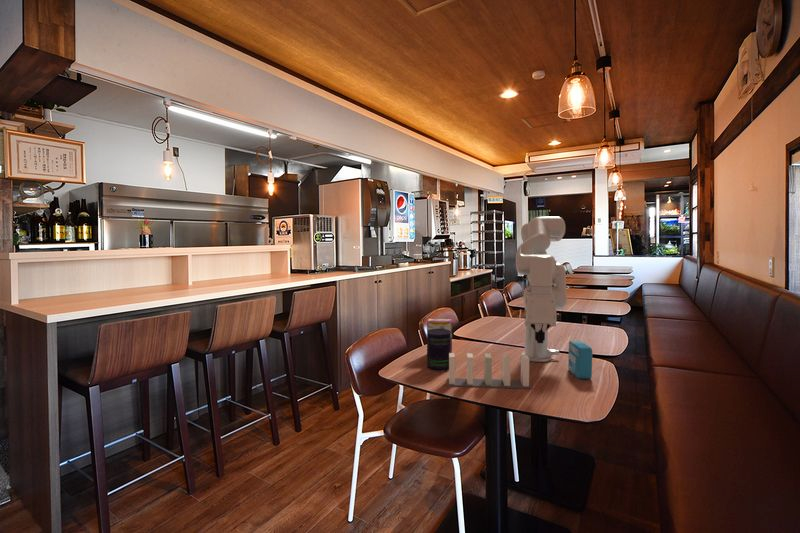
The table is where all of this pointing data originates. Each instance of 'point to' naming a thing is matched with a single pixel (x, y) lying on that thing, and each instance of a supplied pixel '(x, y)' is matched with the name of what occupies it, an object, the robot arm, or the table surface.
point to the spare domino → (487, 369)
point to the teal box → (580, 359)
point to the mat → (494, 384)
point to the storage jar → (438, 349)
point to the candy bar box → (440, 327)
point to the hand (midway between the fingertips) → (539, 342)
